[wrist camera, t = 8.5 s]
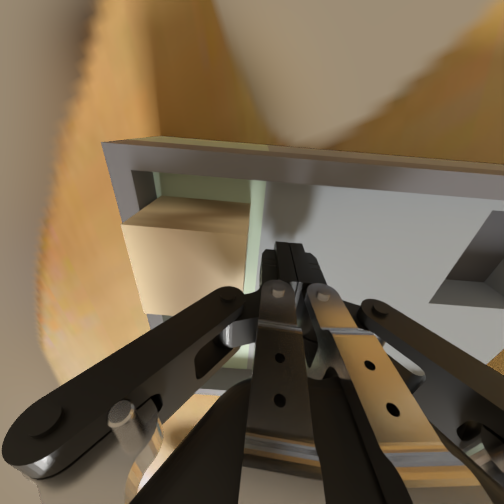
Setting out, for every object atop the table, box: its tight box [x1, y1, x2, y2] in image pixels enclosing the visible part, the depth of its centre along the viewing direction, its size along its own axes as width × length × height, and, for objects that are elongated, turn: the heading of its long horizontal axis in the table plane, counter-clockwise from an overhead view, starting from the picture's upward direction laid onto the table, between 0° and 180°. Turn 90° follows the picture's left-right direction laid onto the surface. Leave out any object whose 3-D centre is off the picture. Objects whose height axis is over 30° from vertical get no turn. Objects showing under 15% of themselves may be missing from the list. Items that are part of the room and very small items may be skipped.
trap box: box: [101, 136, 504, 396], centre depth 16 cm, size 28×20×6 cm
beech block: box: [121, 196, 251, 316], centre depth 11 cm, size 5×5×4 cm
